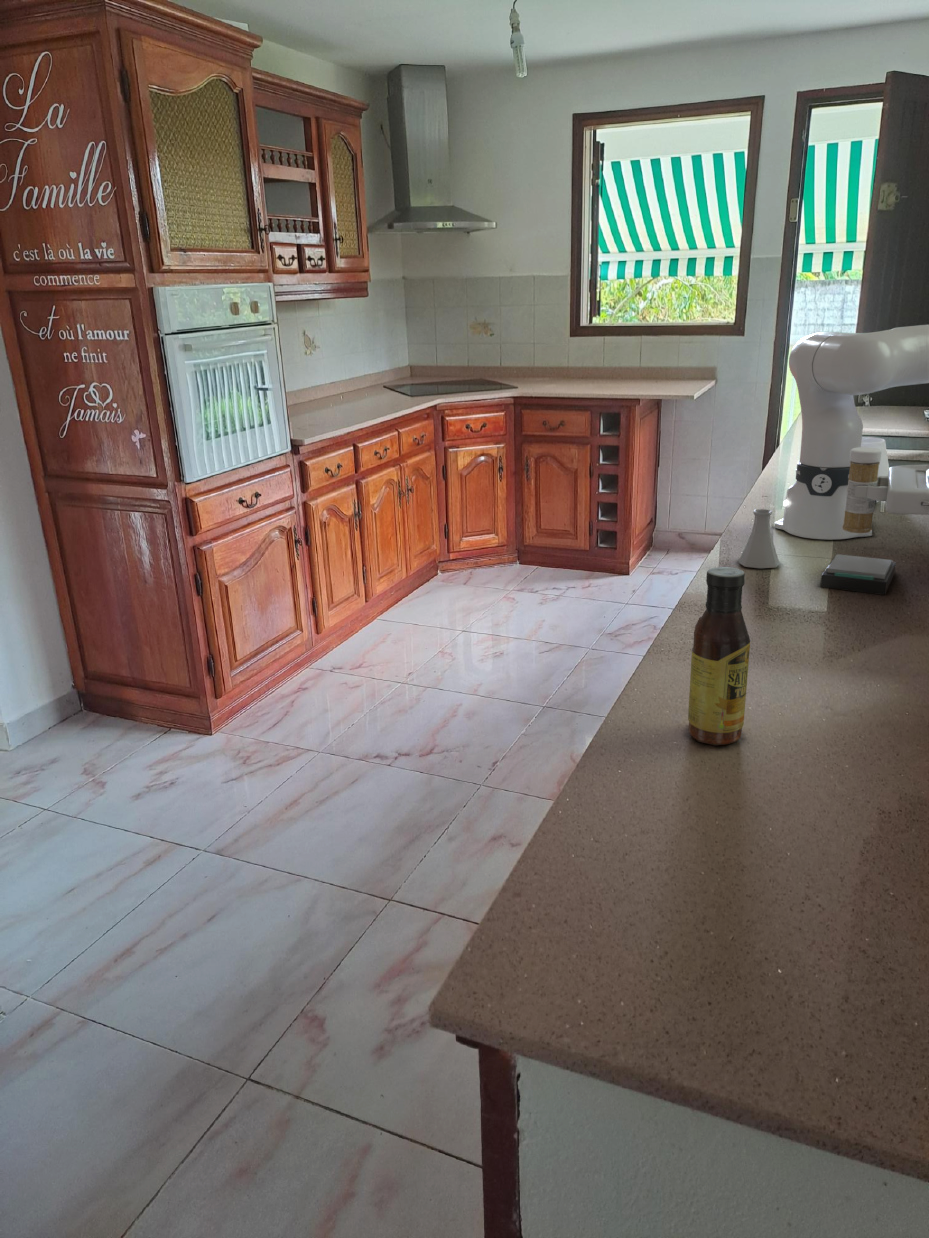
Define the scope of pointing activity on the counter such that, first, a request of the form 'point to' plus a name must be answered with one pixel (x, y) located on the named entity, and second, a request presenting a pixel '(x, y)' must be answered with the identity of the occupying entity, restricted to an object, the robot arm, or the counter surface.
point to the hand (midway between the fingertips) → (855, 487)
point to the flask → (760, 543)
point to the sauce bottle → (719, 662)
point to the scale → (859, 574)
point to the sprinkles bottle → (861, 474)
